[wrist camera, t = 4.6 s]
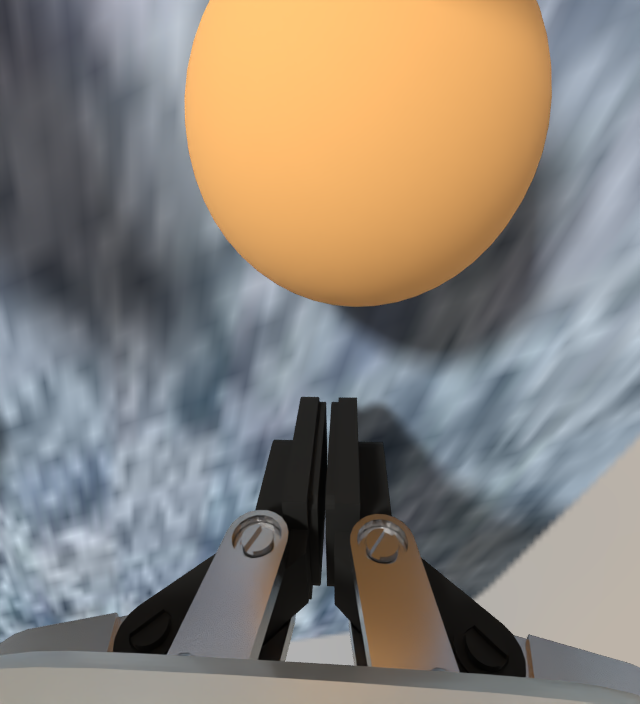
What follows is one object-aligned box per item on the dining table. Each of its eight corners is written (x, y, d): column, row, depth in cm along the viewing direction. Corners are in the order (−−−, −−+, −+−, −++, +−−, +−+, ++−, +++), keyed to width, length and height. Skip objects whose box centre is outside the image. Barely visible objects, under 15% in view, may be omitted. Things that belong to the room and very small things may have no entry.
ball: (95, -366, 4) (248, 4, 9) (103, 307, 5) (228, 267, 11) (780, -267, 3) (506, 43, 9) (556, 378, 5) (444, 300, 11)
